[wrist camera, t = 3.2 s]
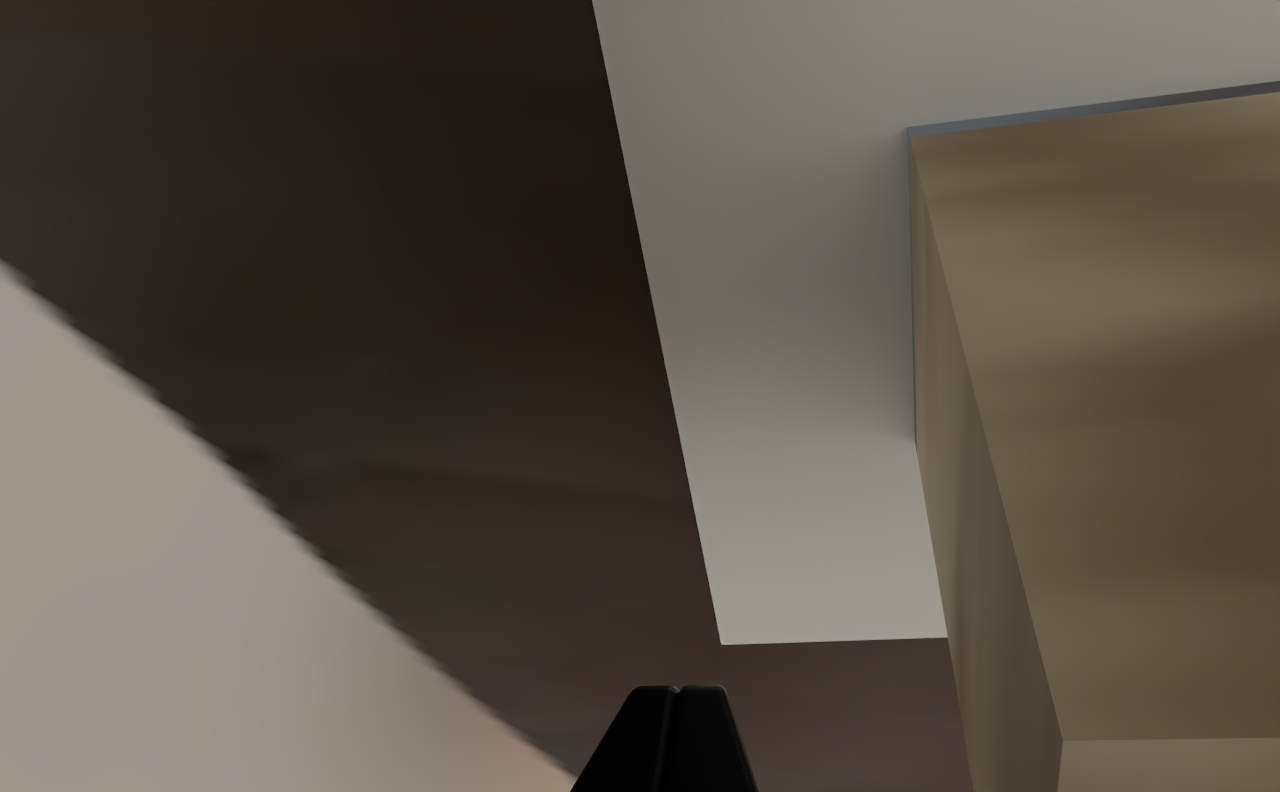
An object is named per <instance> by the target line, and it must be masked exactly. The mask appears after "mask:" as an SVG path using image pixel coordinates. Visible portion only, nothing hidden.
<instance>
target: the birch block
mask: <svg viewBox="0 0 1280 792" xmlns="http://www.w3.org/2000/svg"><path fill="white" fill-rule="evenodd" d="M907 140H908V181H909V221H910V261H911V301H912V342H913V382H914V422H915V445H916V451H917V457H918V463H919V469H920V475H921V481H922V487H923V493H924V499H925V505H926V511H927V517H928V523H929V529H930V535H931V541H932V547H933V553H934V558H935V564H936V570H937V576H938V582H939V588H940V594H941V600H942V606H943V612H944V618H945V624H946V630H947V636H948V642H949V648H950V654H951V660H952V666H953V672H954V677H955V683H956V689H957V695H958V701H959V707H960V713H961V719H962V725H963V731H964V737H965V743H966V749H967V755H968V761H969V767H970V773H971V779H972V785H973V791H974V792H1280V81H1274V82H1266V83H1258V84H1250V85H1242V86H1234V87H1226V88H1218V89H1210V90H1202V91H1194V92H1185V93H1177V94H1169V95H1161V96H1153V97H1145V98H1137V99H1129V100H1121V101H1113V102H1105V103H1097V104H1089V105H1081V106H1073V107H1065V108H1057V109H1049V110H1041V111H1033V112H1025V113H1017V114H1009V115H1001V116H993V117H984V118H976V119H968V120H960V121H952V122H944V123H936V124H928V125H920V126H912V127H907Z"/></svg>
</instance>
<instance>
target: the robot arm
mask: <svg viewBox="0 0 1280 792" xmlns="http://www.w3.org/2000/svg"><path fill="white" fill-rule="evenodd" d="M570 792H759V791H758V788H757V785H756V782H755V778H754V775H753V772H752V769H751V766H750V763H749V760H748V757H747V754H746V750H745V747H744V744H743V741H742V738H741V735H740V732H739V729H738V725H737V722H736V719H735V716H734V713H733V710H732V707H731V704H730V700H729V697H728V694H727V692H726V690H725V688H724V687H723V686H721V685H687V686H684V687H683V688H681V690H680V691H679V690H678V688H676V687H675V686H640V687H637V688H635V689H634V690H632V692H631V693H630V694H629V695H628V697H627V698H626V700H625V702H624V703H623V705H622V707H621V708H620V710H619V712H618V713H617V715H616V717H615V718H614V720H613V722H612V723H611V725H610V727H609V728H608V730H607V732H606V733H605V735H604V736H603V738H602V740H601V741H600V743H599V745H598V746H597V748H596V750H595V751H594V753H593V755H592V756H591V758H590V760H589V761H588V763H587V765H586V766H585V768H584V770H583V771H582V773H581V774H580V776H579V778H578V779H577V781H576V783H575V784H574V786H573V788H572V789H571V791H570Z"/></svg>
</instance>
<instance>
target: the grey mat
mask: <svg viewBox="0 0 1280 792" xmlns="http://www.w3.org/2000/svg"><path fill="white" fill-rule="evenodd" d="M592 2H593V7H594V12H595V17H596V22H597V27H598V32H599V37H600V42H601V47H602V52H603V57H604V62H605V67H606V72H607V77H608V82H609V87H610V92H611V97H612V102H613V107H614V112H615V117H616V122H617V127H618V132H619V137H620V142H621V147H622V152H623V157H624V162H625V167H626V172H627V177H628V182H629V187H630V192H631V197H632V202H633V207H634V212H635V217H636V222H637V227H638V232H639V237H640V242H641V247H642V252H643V256H644V261H645V266H646V271H647V276H648V281H649V286H650V291H651V296H652V301H653V306H654V311H655V316H656V321H657V326H658V331H659V336H660V341H661V346H662V351H663V356H664V361H665V366H666V371H667V376H668V381H669V386H670V391H671V396H672V401H673V406H674V411H675V416H676V421H677V426H678V431H679V436H680V441H681V446H682V451H683V456H684V461H685V466H686V471H687V476H688V481H689V486H690V491H691V496H692V501H693V506H694V511H695V516H696V521H697V526H698V531H699V536H700V541H701V546H702V551H703V556H704V560H705V565H706V570H707V575H708V580H709V585H710V590H711V595H712V600H713V605H714V610H715V615H716V620H717V625H718V630H719V635H720V640H721V645H732V644H762V643H792V642H822V641H852V640H882V639H912V638H942V637H948V636H947V630H946V624H945V618H944V612H943V606H942V600H941V594H940V588H939V582H938V576H937V570H936V564H935V558H934V553H933V547H932V541H931V535H930V529H929V523H928V517H927V511H926V505H925V499H924V493H923V487H922V481H921V475H920V469H919V463H918V457H917V451H916V445H915V422H914V382H913V342H912V301H911V261H910V221H909V181H908V140H907V127H912V126H920V125H928V124H936V123H944V122H952V121H960V120H968V119H976V118H984V117H993V116H1001V115H1009V114H1017V113H1025V112H1033V111H1041V110H1049V109H1057V108H1065V107H1073V106H1081V105H1089V104H1097V103H1105V102H1113V101H1121V100H1129V99H1137V98H1145V97H1153V96H1161V95H1169V94H1177V93H1185V92H1194V91H1202V90H1210V89H1218V88H1226V87H1234V86H1242V85H1250V84H1258V83H1266V82H1274V81H1280V0H592Z"/></svg>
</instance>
